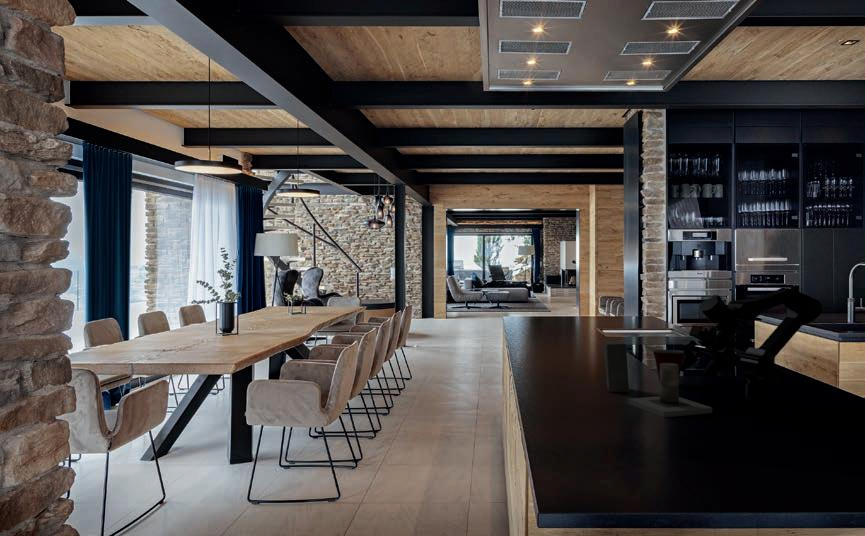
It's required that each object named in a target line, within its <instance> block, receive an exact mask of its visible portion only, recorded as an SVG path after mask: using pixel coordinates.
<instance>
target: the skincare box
mask: <svg viewBox="0 0 865 536" xmlns="http://www.w3.org/2000/svg"><path fill="white" fill-rule="evenodd" d="M604 360H605V361H604V362H605V363H604V364H605V375H606V378H605V379H606V388H607V390H608V392H612V393H613V392H614V393H629V392H630V386H629V371H628V369H629V368H628V354H627V344H626V343H625V342H624V341H605V342H604Z"/></svg>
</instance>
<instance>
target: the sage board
mask: <svg viewBox="0 0 865 536" xmlns="http://www.w3.org/2000/svg"><path fill="white" fill-rule="evenodd" d="M627 404H628V405H631V406H633V407H635V408H638V409H640V410H644V411H647V412H649V413H651V414H654V415H655V416H656V415H657V416H659V417H662V418H672V417H673V418H674V417H683V416H684V417H685V416H692V415H693V416H694V415H695V416H696V415H705V414H706V415H707V414H713V407H712V406H709V405H705V404H702V403H698V402H696V401H693V400H689V399H687V398H683V397H681V396H679V404H675V405H670V404H663V403H660V395H659V396H649V397H647V396H646V397H635V398H634V397H633V398H628V402H627Z"/></svg>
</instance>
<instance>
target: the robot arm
mask: <svg viewBox="0 0 865 536" xmlns="http://www.w3.org/2000/svg"><path fill="white" fill-rule="evenodd" d="M781 305H783V306H784V307H786V316H785V318H784V319H783V320H782V321H781V322H780V323H779V325H777V327H776V328H775V329H774V330H773V331H772V332H771V334H770V335H769V336H768V337H767V338H766V339H765V340H764V341H763V342H762V344H761V345H760V346H759V347H753V346H749V347H748V348H747V349H746V351H745V352H744V353H743V354H741V355H740V356H741V358H740V357H739V355H738V354H737V353H736V352H735V350H733V349H732V347H731V346H732V345H733V343H732V342H731V341H732V340H733V338H734V337H736V335H737V334H738V333H739V334H746V328H745V324H744V323H740V322H739V321H744V322H745V321H746V322H749V321H753V320H754V319H756V318H757V317H759V316H761V313H762V312H764V311H767V310H769V309H772V308H775V307H778V306H781ZM699 310H700V311H701V313H702V314H703V315H704V316H705V317H706V319H707V320H708V321H709V322H710V323H711V324H716V325H715V326H710V325H708V326H707V327H705V326H702V325H691V329H690V331H689V334H688V336H690V337H693V338H695V339H697V342H696V341H695V340H693V339H688V338H687V339H686V338H685V339H682V340H681V342H680V343H679V346H680V347H681V349H682V351H684V355H683V360H682V363H681V366H680V372H685V371H687V369H689V368H690V367H692V366H693V365H694V364H696V363H697V362H698V361H699V360H700V359H699V358H701V357H702V356H703V355H708V356H711V360H710V361H709V362H708V364H707V366H706V367H705V368H704V370H703V372H702V374H701V376H702V377H703V378H707V377H709V376H711V375H713V374H715V373H718V372H720V371H723V370H726V369H728V368H729V369H730V368H732V367H737V365H739V367H740V371H741V374H742V377H743V379H747V383H745V397H746V398H747V399H748V400H749V401H750V402H754V403H755V402H757V403H773V404H774V403H775V400H774V384H775V383H778V381H779V379H780V374H779V373H778V372H777V371H776V370H775V369H774V368H775V365H776V359H775V358H776V356H778V354H779V353H780V352H781V351H782V350H783V349H784V347H785V346H786V345H787V344H788V343H789V342H790V340H791V339H792V338H793V337H795V334H796V333H797V332H799V330H800V329H801V328H802V326H804V325H805V326H806V325H807V324H809V323H811V322H813V321H815V320H816V319H817V318H818V317H820V316H821V314H822V313H823V305H822V304H821V302H820V301H819V300H818V299H816V298H813V297H812V296H810V295H807V294H805V293H802V292H801V291H800V290H798V289H796V288H794V287H780V288H778V289H777V290H774V291H771V292H768V293H764V294H762V295H760V296H756V297H754V298H747V299H737V300H736V299H735V300H731V301H729V302H728V304H726V303H725V302H724V300H723V299H722V297H721V296H720V295H718V294H713V295H712V296H711V297H709V298H707V299H705V300H704V301H702V302H701V303H700V304H699ZM698 343H699V344H701V345H699V344H698Z"/></svg>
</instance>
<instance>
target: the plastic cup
mask: <svg viewBox="0 0 865 536" xmlns="http://www.w3.org/2000/svg"><path fill="white" fill-rule="evenodd" d="M651 352H652V353H653V356H654V359H655V365H656V370H657V371H656V372H657V376H658V382H659V383H660V364H661V363H673V364H678V365H679V377H680V376H681V371H680V366H681V363H682V360H683V355H684V351H683V350H675V349H652V350H651Z"/></svg>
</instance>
